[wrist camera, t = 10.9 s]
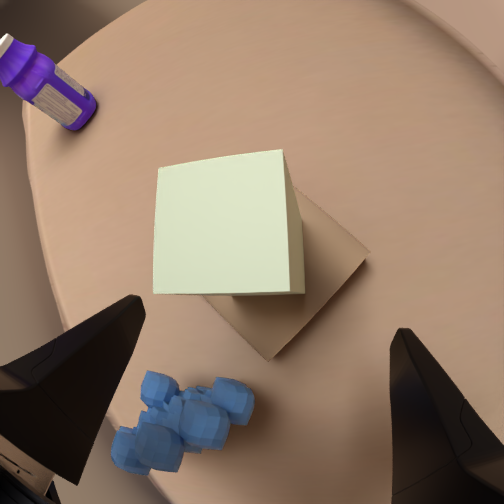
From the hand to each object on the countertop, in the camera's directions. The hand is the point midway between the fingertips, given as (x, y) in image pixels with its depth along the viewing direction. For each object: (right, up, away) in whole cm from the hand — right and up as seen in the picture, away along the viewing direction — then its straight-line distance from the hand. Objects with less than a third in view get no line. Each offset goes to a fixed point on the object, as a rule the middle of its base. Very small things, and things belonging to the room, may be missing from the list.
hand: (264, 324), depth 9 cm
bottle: (-23, +21, +22) cm, 39 cm away
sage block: (+1, +2, +11) cm, 11 cm away
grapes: (-4, -9, +13) cm, 17 cm away
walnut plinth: (+1, +2, +13) cm, 14 cm away
